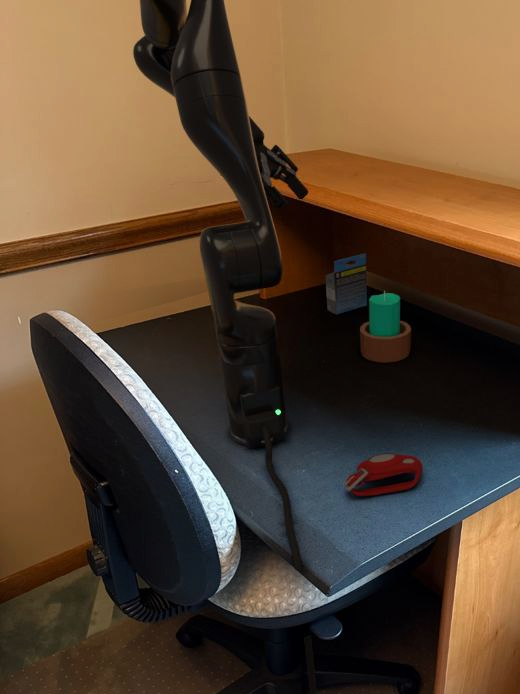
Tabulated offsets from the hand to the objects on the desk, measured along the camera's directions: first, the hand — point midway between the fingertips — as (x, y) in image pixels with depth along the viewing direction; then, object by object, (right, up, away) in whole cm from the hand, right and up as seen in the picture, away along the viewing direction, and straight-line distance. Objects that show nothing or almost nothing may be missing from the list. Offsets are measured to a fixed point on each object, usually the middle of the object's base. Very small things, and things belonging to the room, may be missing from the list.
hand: (294, 201), depth 121 cm
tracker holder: (+15, -51, -23) cm, 58 cm away
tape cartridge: (+9, -11, +33) cm, 36 cm away
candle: (+17, -24, +13) cm, 32 cm away
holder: (+17, -25, +14) cm, 33 cm away
